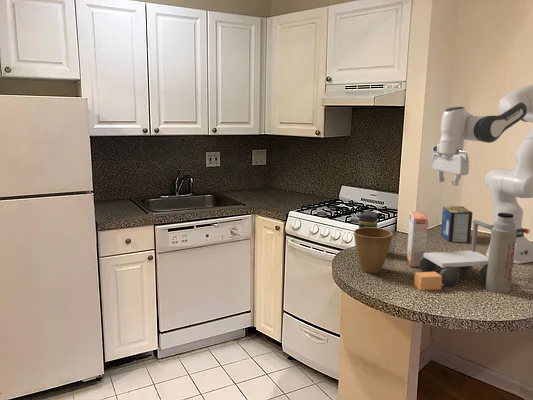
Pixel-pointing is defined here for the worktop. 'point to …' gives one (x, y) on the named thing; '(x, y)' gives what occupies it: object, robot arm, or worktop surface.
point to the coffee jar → (368, 219)
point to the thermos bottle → (501, 254)
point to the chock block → (427, 280)
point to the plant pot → (372, 247)
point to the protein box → (456, 224)
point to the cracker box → (416, 237)
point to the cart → (456, 260)
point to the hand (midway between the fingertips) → (448, 183)
